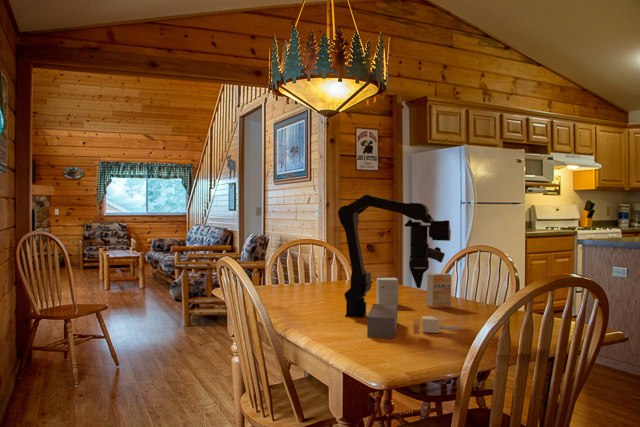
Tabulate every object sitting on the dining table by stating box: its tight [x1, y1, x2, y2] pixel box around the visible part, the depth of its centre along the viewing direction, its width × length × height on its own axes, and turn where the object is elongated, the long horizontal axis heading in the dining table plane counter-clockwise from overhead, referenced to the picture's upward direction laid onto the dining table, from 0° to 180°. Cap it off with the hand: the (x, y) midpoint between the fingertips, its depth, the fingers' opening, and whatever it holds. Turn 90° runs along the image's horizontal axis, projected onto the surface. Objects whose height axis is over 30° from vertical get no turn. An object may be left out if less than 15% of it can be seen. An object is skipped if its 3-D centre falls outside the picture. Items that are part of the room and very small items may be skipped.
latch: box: [413, 318, 420, 335], centre depth 140 cm, size 2×8×3 cm, turn 168°
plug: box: [421, 315, 460, 334], centre depth 148 cm, size 11×4×4 cm, turn 79°
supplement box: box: [426, 272, 452, 309], centre depth 187 cm, size 8×5×13 cm, turn 105°
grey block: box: [366, 303, 399, 339], centre depth 151 cm, size 8×20×6 cm, turn 169°
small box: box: [376, 277, 399, 307], centre depth 190 cm, size 8×6×10 cm
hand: (418, 285), depth 163 cm, fingers open, 9 cm apart
